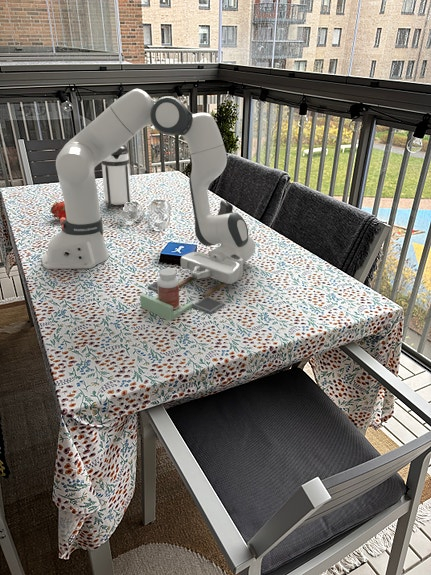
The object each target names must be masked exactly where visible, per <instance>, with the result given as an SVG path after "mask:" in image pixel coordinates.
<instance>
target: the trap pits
mask: <svg viewBox="0 0 431 575" xmlns="http://www.w3.org/2000/svg"><path fill="white" fill-rule="evenodd" d="M147 289H150V290H152V291H155V292H156V293H158V289H157V281H155V282H152V283H151V284H149V285H148V286H147ZM224 305H225V302H223V301H220V300H217V299H215V298H212V297H211V296H206V297H202V298H201V299H199V300H197V301H196V302H194V303H193V308H196V309H197V310H201V311H202V312H205V313H208V314H210V315H211V314H213V313H214V312H216V311H217V310H219V309H221V307H223V306H224Z"/></svg>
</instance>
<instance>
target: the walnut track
mask: <svg viewBox="0 0 431 575" xmlns="http://www.w3.org/2000/svg"><path fill="white" fill-rule="evenodd" d="M194 280H197V279H196V278H194V277H191V275H190V276H188V277H186V278H185V279H183V280H181V281H179V289H180V288H182V287H183V286H186V285H187V284H189V283H192V281H194ZM227 285H228V284H227V283H224V282H221V281H220V283H218V284H216V285H215V286H213V287H211V288H210V289H209V290H206V291H205V292H204V293H202V298H204V297H206V296H208V297H211V296H212V295H213V294H214V293H216V292H218V291H219V290H221V289H223V288H224V287H225V286H227Z"/></svg>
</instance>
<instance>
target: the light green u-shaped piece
mask: <svg viewBox="0 0 431 575" xmlns="http://www.w3.org/2000/svg"><path fill="white" fill-rule="evenodd" d="M139 299H140V308H142V309H144V310H146V311H149V312H150V313H153V314H154V315H157V316H159V317H162V318H164V319H166V320H168V321H172V320H174V319H175V318H177V317H179V316H180V315H182V314H183V313H185V312H187V311H189V309H191V308H192V307H193V304H194V302H192V301H189V302H187V303H186V304H183V305H182V306H181V307H178V308H177V309H175V311H174V310H173V306H171V305H169V304H166V303H164V302H162V301H159V300H158V294H156V295H154V296H150V295H147V294H146V293H141V294H140V295H139ZM193 308H194V307H193Z"/></svg>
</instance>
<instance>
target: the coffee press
mask: <svg viewBox="0 0 431 575" xmlns="http://www.w3.org/2000/svg"><path fill="white" fill-rule="evenodd" d="M129 153H130V149H129V148H128V146H127V145H125V144H124V145H123V146H122V147H121V148H120V149H118V150H117V151H116V152H114V153H113V154H111V155H110V156H108V157H107V158H106V159H104V160H103V161H102V162H100V164H101V171H102V182H103V192H104V193H103V194H104V201H105V203H107V205H106V208H107V209H112V207H113V205H115V206H116V205H117V206H118V205H119V206H120V205H125V204H124V203H126V202H131V201H132V193H131V192H132V190H131V188H132V186H131V176H130V175H131V174H130V173H131V172H130V158H129V156H130V155H129Z"/></svg>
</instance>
